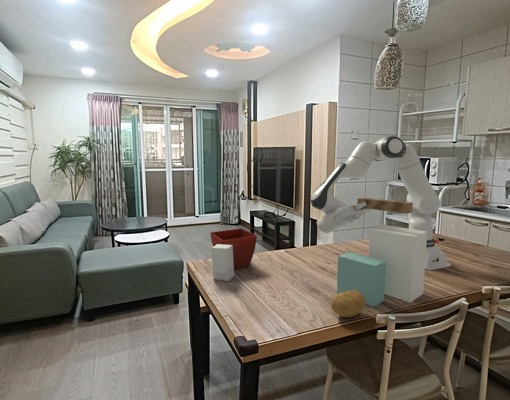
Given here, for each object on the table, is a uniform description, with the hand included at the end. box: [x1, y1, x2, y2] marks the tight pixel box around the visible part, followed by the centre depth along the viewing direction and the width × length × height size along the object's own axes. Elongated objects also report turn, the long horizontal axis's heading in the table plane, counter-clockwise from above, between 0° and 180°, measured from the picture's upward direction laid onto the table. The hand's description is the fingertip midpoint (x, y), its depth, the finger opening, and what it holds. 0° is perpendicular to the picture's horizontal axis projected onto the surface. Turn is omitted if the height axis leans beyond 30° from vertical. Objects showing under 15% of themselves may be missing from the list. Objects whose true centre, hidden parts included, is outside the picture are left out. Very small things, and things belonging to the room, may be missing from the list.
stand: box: [368, 224, 427, 303], centre depth 131 cm, size 12×18×26 cm, turn 41°
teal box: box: [336, 252, 386, 308], centre depth 126 cm, size 8×16×16 cm, turn 41°
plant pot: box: [210, 228, 258, 270], centre depth 166 cm, size 19×19×17 cm
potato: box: [330, 290, 366, 318], centre depth 112 cm, size 10×14×8 cm
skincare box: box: [211, 244, 235, 282], centre depth 147 cm, size 8×7×16 cm
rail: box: [356, 197, 413, 215], centre depth 133 cm, size 22×4×4 cm, turn 41°
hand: (369, 202), depth 137 cm, fingers closed on rail, 4 cm apart
